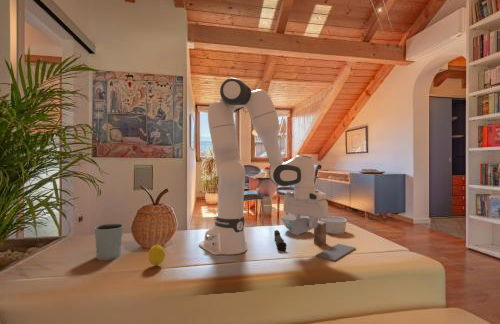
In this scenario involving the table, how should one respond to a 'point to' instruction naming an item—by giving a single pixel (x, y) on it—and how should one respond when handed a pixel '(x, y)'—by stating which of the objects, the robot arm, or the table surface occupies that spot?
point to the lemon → (156, 255)
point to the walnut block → (320, 233)
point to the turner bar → (302, 225)
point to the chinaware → (289, 220)
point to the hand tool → (279, 241)
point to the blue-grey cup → (108, 241)
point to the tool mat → (335, 252)
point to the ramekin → (335, 224)
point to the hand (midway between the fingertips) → (304, 226)
